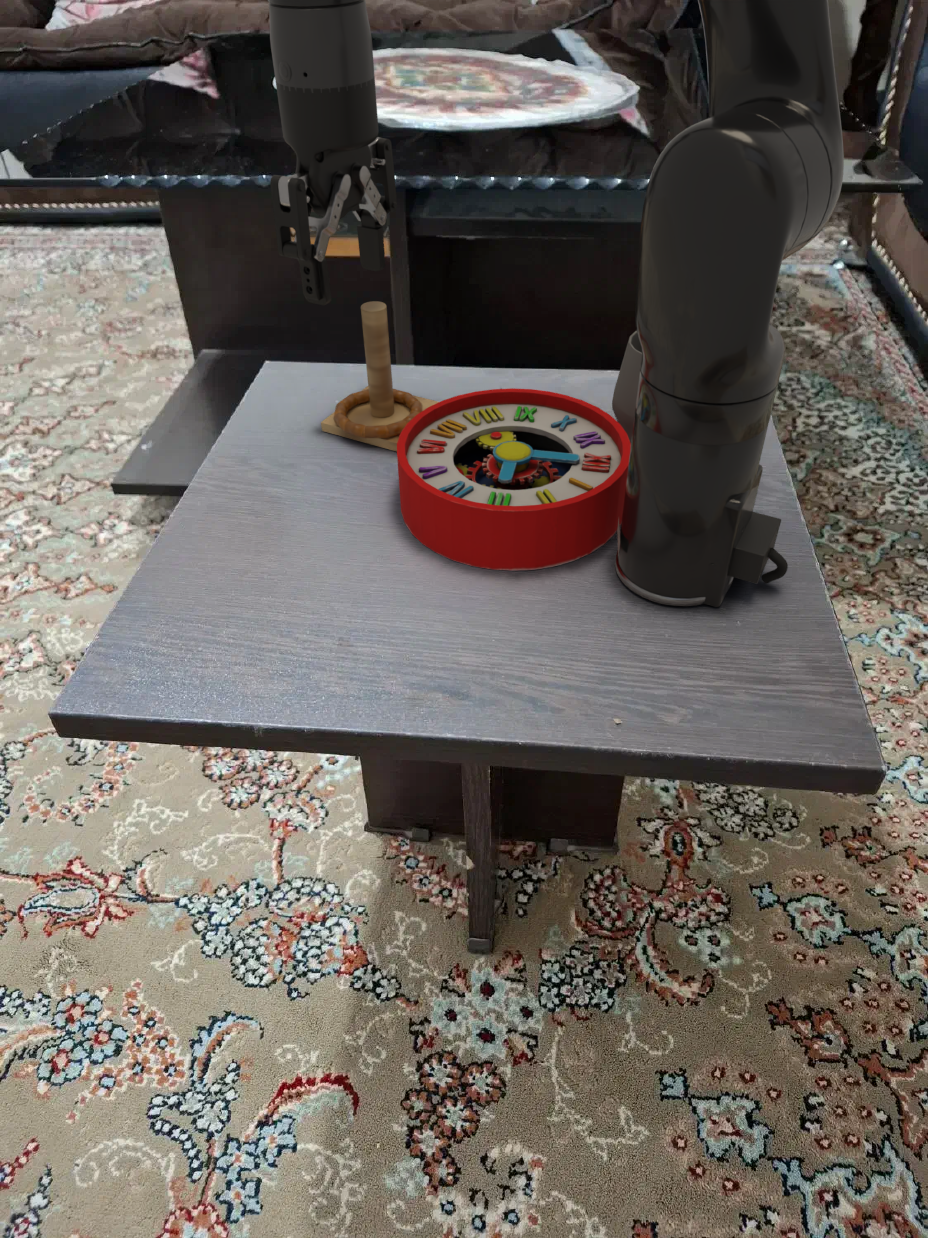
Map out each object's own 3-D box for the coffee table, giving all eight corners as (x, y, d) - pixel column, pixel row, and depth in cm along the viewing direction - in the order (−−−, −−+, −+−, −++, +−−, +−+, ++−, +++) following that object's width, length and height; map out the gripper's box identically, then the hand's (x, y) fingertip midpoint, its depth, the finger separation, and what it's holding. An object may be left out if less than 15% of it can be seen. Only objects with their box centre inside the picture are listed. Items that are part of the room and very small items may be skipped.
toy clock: (426, 380, 85) (638, 397, 82) (429, 434, 89) (631, 452, 86) (368, 497, 71) (623, 523, 67) (374, 556, 75) (615, 583, 71)
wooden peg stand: (443, 411, 93) (439, 296, 85) (398, 452, 87) (389, 333, 79) (370, 392, 96) (359, 281, 88) (321, 431, 90) (305, 315, 82)
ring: (438, 408, 91) (438, 397, 90) (391, 448, 85) (391, 437, 85) (367, 389, 94) (366, 379, 94) (317, 427, 89) (315, 416, 88)
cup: (697, 415, 91) (713, 320, 84) (714, 464, 84) (733, 365, 78) (603, 415, 91) (612, 320, 85) (613, 464, 84) (624, 365, 78)
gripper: (310, 97, 62) (336, 323, 73) (414, 58, 71) (424, 264, 82) (225, 87, 65) (262, 307, 75) (336, 51, 74) (356, 252, 85)
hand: (347, 284), depth 79 cm, fingers open, 8 cm apart
